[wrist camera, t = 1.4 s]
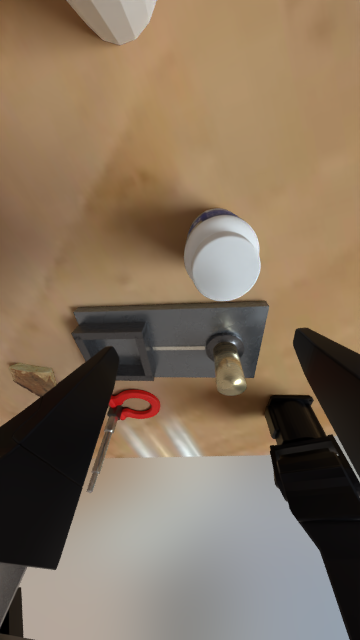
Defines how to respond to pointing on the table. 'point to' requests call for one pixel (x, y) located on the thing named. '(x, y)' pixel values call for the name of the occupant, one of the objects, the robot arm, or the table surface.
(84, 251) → the table surface
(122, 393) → the tow hook
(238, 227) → the pill bottle
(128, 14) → the white cup
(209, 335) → the metal plate with knob
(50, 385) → the shard
